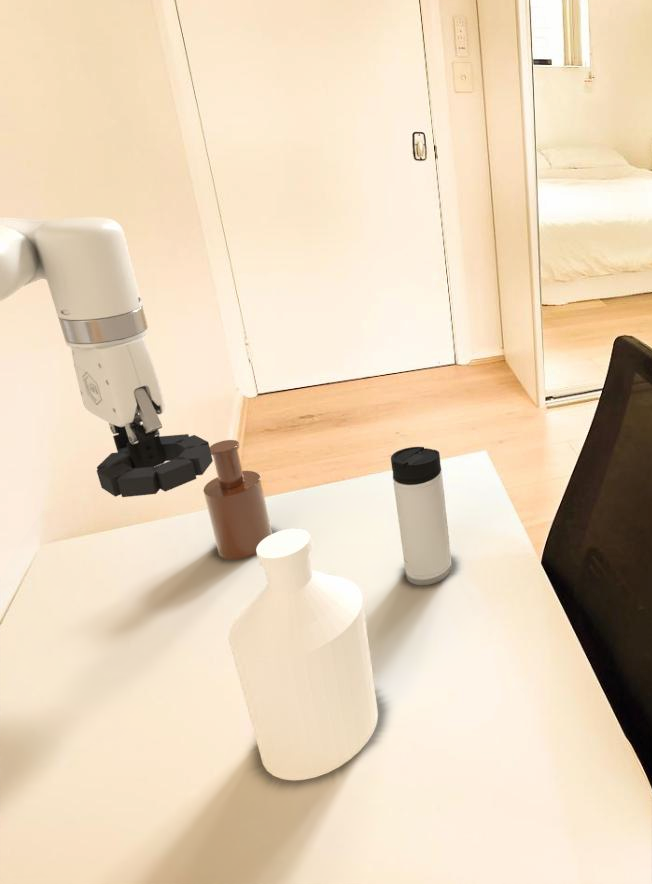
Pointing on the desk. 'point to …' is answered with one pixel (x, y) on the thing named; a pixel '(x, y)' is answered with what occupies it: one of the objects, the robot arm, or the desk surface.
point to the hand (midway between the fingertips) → (143, 462)
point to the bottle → (304, 663)
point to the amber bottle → (235, 504)
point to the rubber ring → (156, 467)
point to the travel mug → (421, 514)
